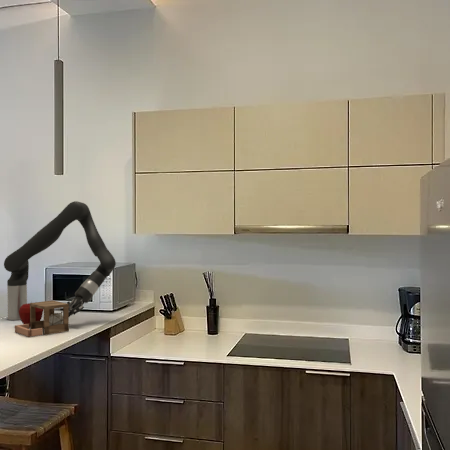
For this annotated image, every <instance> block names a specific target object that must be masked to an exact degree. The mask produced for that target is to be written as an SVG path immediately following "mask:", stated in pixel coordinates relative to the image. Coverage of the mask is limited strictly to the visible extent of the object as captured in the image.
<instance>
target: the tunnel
mask: <svg viewBox="0 0 450 450" xmlns="http://www.w3.org/2000/svg"><path fill="white" fill-rule="evenodd" d="M29 303H30V327H29V329H30V330H31V329H38V328H43V335H45V336H47V335H53V334H60V333H65V332H69V329H70V328H69V325H70V323H69V321H70V320H69V318H70V317H69V315H68V307H69V304H67V302H66V303H65V302H60V301H56V300H54V299H53V300H45V301H38V302H37V301H35V302H29ZM35 307H36V308H40V309H43V319H41V321H36V313H35ZM60 308H62V316H63V324H57V325H51V326H49V316H50V315H51V312H52V313H55V309H60Z"/></svg>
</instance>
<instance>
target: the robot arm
mask: <svg viewBox="0 0 450 450" xmlns="http://www.w3.org/2000/svg"><path fill="white" fill-rule="evenodd" d="M75 221H78V223H80V225H81V226H82V228H83V230H84V234H85V237H86V242H87V245H88V246H89V249H90V250H91V252H92V254H93V255H94V256H95V257H97V259H98V261H99V262H100V264H99V265H98V266H97V267H96V269H95V270H94V271H92V273H91V274H90V275H89V276H88V277H87V278H86V279H85V281H83V282H82V283H81V285H80V286H79V287H78V289H77V290H76V291H75V293H74V296H75V297H74V298H72V299H71V301H67V302H66V304H69V307H68V315H69V318H70V317H71V316H73V315H76V314H78V313H79V312H81V311H82V310H84V308H85V307H84V306H83V305H84V304H88V303H89V301H90V300H91V299H92V298H93V296H94V295H95V293H97V291H98V289H99V288H100V287H101V286H102V284H103V283H104V281H105V280H106V279H107V278H108V277H109V276H110V274H111V273H112V272H113V271H114V269H115V267H116V265H117V261H116V259H115V257H114V255H113V254H112V253H111V251H110V250H109V249H108V248H107V246H106V243H105V242H104V240H103V238H102V237H101V235H100V232H99V231H98V229H97V226H96V224H95V221H94V219H93V216H92V213H91V210H90V208H89V206H88V205H87V203H84V202H81V201H78V200H75V201H71V202H70V203H68V204H67V205H66V206H65V207H64V208H63V210H62V211H60V213H58V214H57V215H56V217H54V218H52V220H50V221H49V222H48V223H47V224H46V225H44V226H43V227H41V229H39V230H38V231H37V232H36V233H35V234H34V235H33V236H32V237H31V238H29V239H28V240H27V241H26V242H25V243H24V244H23V245H22V246H21V247H18V249H16V250H15V251H13V252H12V253H10V254H8V255H7V256H6V258H5V259H4V262H3V267H4V269H5V271H7V272H10V273H11V274H10V277H9V278H8V279H7V284H6V285H7V289H6V290H7V293H6V294H7V320H8V321H21V319H20V316H19V309H20V307H21V306H22V305H23V304H28V289H27V288H28V287H27V285H28V280H29V269H30V268H29V267H30V265H29V260H30V259H31V258H33V257H34V256H36V255H37V254H40V253H41V252H43V251H45V250H46V249H48V248H49V247H50V246H52V245H53V244H54V243H56V242H57V241H58V240H59V239H60V237H61V235H62V233H63V232H64V230H65V229H66V228H67V227H68V226H69V225H70V224H72V223H73V222H75Z"/></svg>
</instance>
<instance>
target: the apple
mask: <svg viewBox="0 0 450 450" xmlns="http://www.w3.org/2000/svg"><path fill="white" fill-rule="evenodd" d="M30 303H31V302H27V304H23V305H22V306H21V307H20V309H19V316H20V319H21V320H20V321H21V322H22V325H23V324H29V328H30ZM35 313H36V321H42V318H43V316H44V309H40V308H36V307H35Z"/></svg>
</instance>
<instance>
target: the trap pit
mask: <svg viewBox="0 0 450 450" xmlns="http://www.w3.org/2000/svg"><path fill="white" fill-rule="evenodd" d="M14 333H16V334H18V335H21V336H23V337H26V338H34V337H41V336H43V335H44V328H38V329H31V330H30V327H29V324H23V323H22V324H17V325H14Z"/></svg>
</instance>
